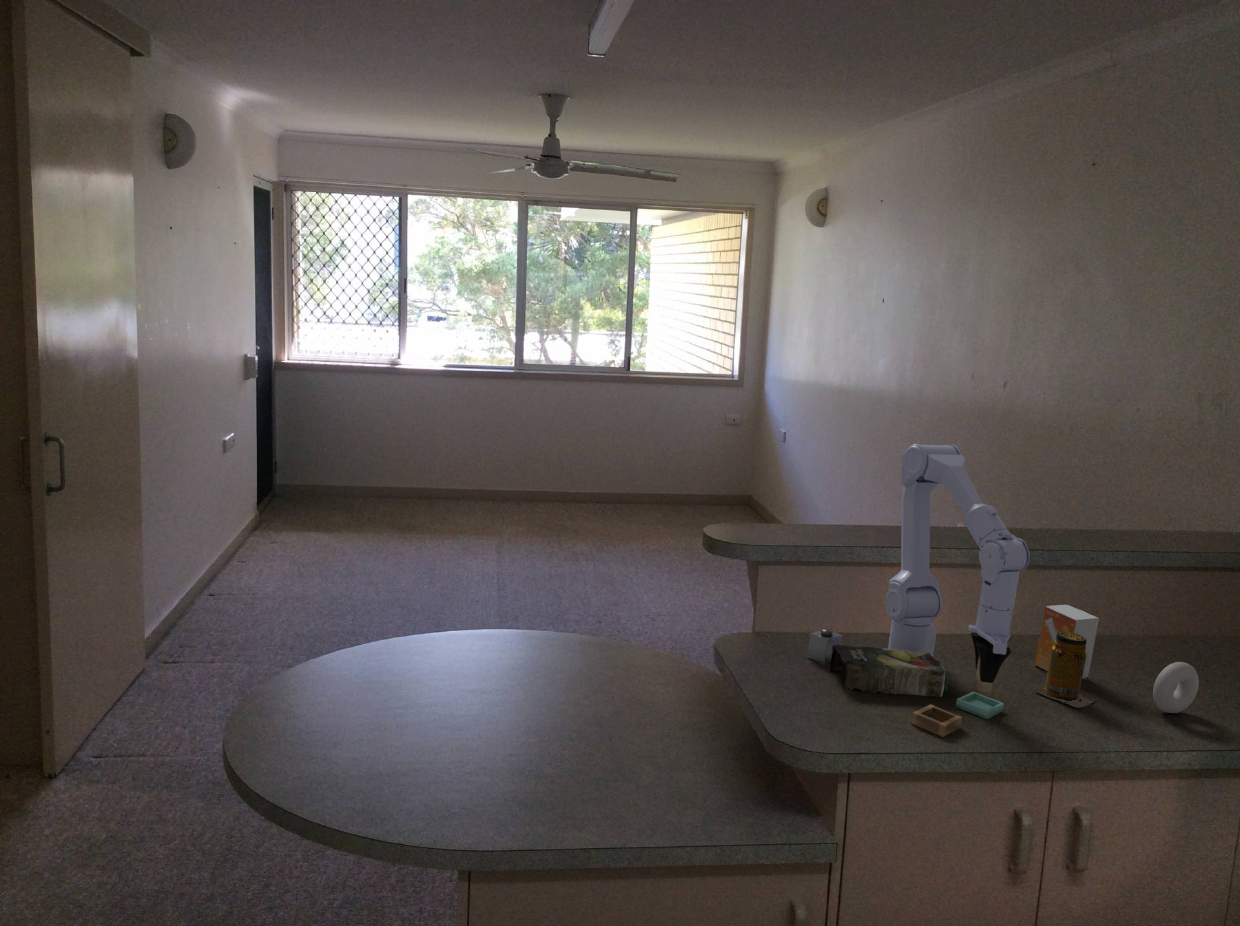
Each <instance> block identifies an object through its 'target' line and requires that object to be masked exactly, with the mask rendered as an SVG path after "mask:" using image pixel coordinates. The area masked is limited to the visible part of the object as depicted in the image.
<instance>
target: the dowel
mask: <svg viewBox="0 0 1240 926" xmlns="http://www.w3.org/2000/svg"><path fill="white" fill-rule="evenodd" d="M993 685H994V682H993V683H987V682H981V680H980V658H979V659H978V665H977V672H975V679H974V685H973V692H976V693H978V694H981V695H984V696H991V694H992V692H993Z"/></svg>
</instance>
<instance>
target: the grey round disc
mask: <svg viewBox="0 0 1240 926" xmlns="http://www.w3.org/2000/svg"><path fill="white" fill-rule="evenodd" d="M1199 683H1200V680H1199V675H1198V672H1197V671H1196V669H1195V667H1194V666H1192V665H1191V664H1189V663H1187V662H1183V661H1175V662H1173V663H1169V664H1168V665H1166V667H1164V668H1163V669H1162V670H1161V672H1160V673H1159V674H1158V676H1157V677H1156V679H1155V682H1154V685H1153V690H1152V699H1153V702H1154V704H1155V705H1156V707H1157V708H1158V709H1159V710H1160V711H1162V712H1164V713H1165V712H1168V713H1176V714H1178V713H1181V712H1184V711H1185V710H1186V709H1187V708H1189V707H1190V705H1191V704H1192V703H1193V702H1194V700H1195V698H1196V696H1197V693H1198V691H1199ZM1168 713H1167V714H1168Z"/></svg>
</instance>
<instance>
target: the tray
mask: <svg viewBox="0 0 1240 926" xmlns="http://www.w3.org/2000/svg"><path fill="white" fill-rule="evenodd" d="M1004 706H1005V703H1004V702H1002V701H999V700H996V699H994V698H991V697H988V696H987V695H982V694H978V693H976V692H975V691H971V692H969V693H967V694H964V695H963V696H961V697H958V698H957V699H956V703H955V707H956V708H957V709H960V710H962V711H965V712H968V713H970V714H973V715H976V716H977V717H980V718H983V719H985V720H989V719H991V718H992V717H995V716H997V715H998V714H1000V713H1003V712H1004V708H1005V707H1004Z"/></svg>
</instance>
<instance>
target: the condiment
mask: <svg viewBox="0 0 1240 926" xmlns="http://www.w3.org/2000/svg"><path fill="white" fill-rule="evenodd" d="M1086 643H1087V640H1086V639H1085V638H1084V637H1083V636H1081V635H1078V634H1075V633H1071V632H1059V633H1057V635H1056V641H1055V645H1054V646H1053V647H1052V650H1051V655H1050V662H1049V665H1048V666H1049V667H1048V672H1046V677H1045V678H1046V679H1045V683H1044V684H1045V685H1044V689H1045V693H1047V695H1050V696H1051V697H1055V698H1057V699H1062V700H1063V699H1064V700H1066V701H1072V700H1076V699H1077V698H1078V696H1079V695H1081V688H1082V683H1083V682H1082V681H1083V680H1082V677H1083V671H1084V667H1085V661H1086V653H1085V650H1086Z"/></svg>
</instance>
